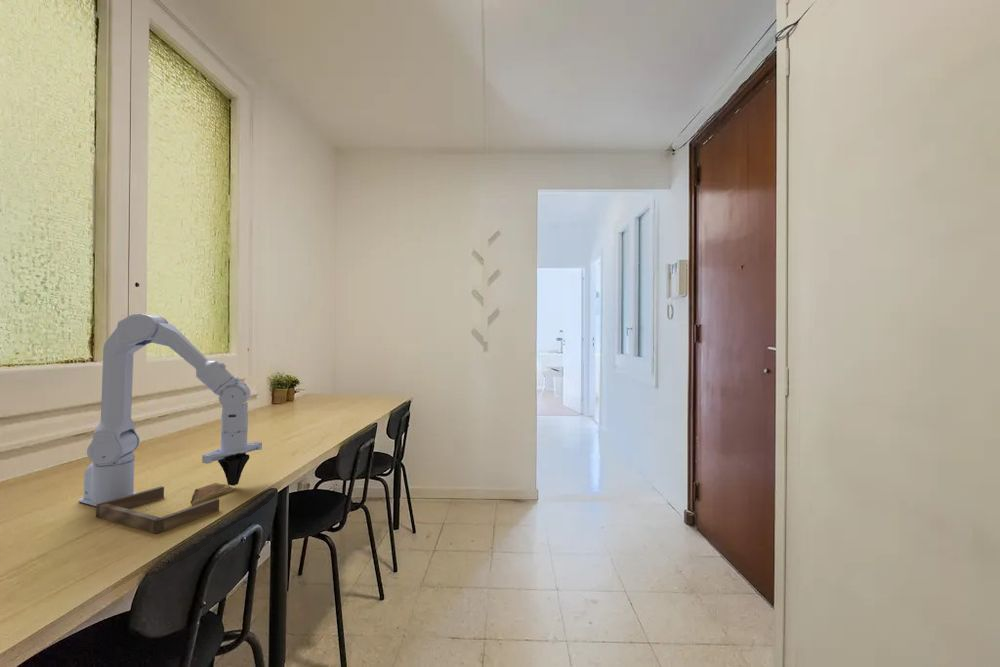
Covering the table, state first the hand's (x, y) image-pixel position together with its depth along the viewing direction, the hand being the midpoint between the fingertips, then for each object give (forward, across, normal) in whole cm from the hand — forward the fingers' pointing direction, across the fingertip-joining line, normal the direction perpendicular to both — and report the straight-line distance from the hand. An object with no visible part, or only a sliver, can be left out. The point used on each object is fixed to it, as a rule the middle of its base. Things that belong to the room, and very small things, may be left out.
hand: (233, 484), depth 106 cm
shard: (+2, -5, 0) cm, 5 cm away
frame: (+1, -16, 0) cm, 16 cm away
